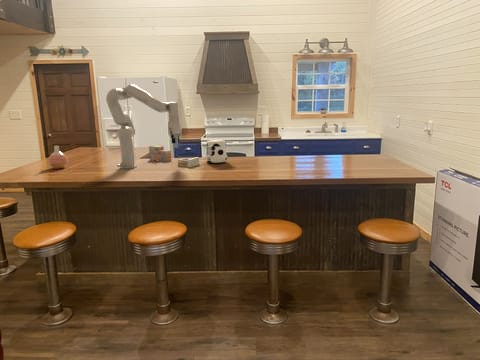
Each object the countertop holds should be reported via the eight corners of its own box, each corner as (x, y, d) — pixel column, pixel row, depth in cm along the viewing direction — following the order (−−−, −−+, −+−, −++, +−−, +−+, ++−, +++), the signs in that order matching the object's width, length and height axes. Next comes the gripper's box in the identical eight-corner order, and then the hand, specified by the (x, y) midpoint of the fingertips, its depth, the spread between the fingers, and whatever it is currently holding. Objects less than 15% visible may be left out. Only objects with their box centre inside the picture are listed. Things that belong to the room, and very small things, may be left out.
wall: (189, 167, 269) (189, 159, 268) (187, 167, 270) (187, 159, 269) (199, 164, 281) (199, 157, 279) (197, 164, 281) (196, 157, 280)
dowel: (176, 148, 269) (175, 132, 267) (172, 147, 271) (171, 132, 268) (179, 147, 273) (178, 131, 270) (175, 147, 275) (174, 131, 272)
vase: (60, 170, 269) (57, 147, 265) (45, 169, 271) (42, 146, 267) (72, 166, 282) (70, 144, 278) (57, 166, 284) (54, 144, 280)
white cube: (228, 161, 297) (228, 139, 293) (225, 164, 281) (225, 142, 277) (208, 161, 299) (207, 139, 295) (204, 164, 282) (203, 142, 278)
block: (188, 166, 272) (188, 160, 270) (177, 165, 276) (177, 159, 275) (195, 164, 280) (195, 158, 279) (185, 163, 285) (185, 157, 284)
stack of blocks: (171, 161, 302) (170, 146, 299) (166, 162, 297) (165, 147, 295) (155, 159, 315) (154, 145, 312) (149, 160, 310) (148, 146, 307)
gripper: (176, 118, 276) (178, 141, 280) (162, 119, 262) (164, 144, 266) (184, 118, 273) (186, 141, 277) (170, 119, 258) (172, 144, 262)
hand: (175, 142), depth 271 cm, fingers closed on dowel, 4 cm apart
